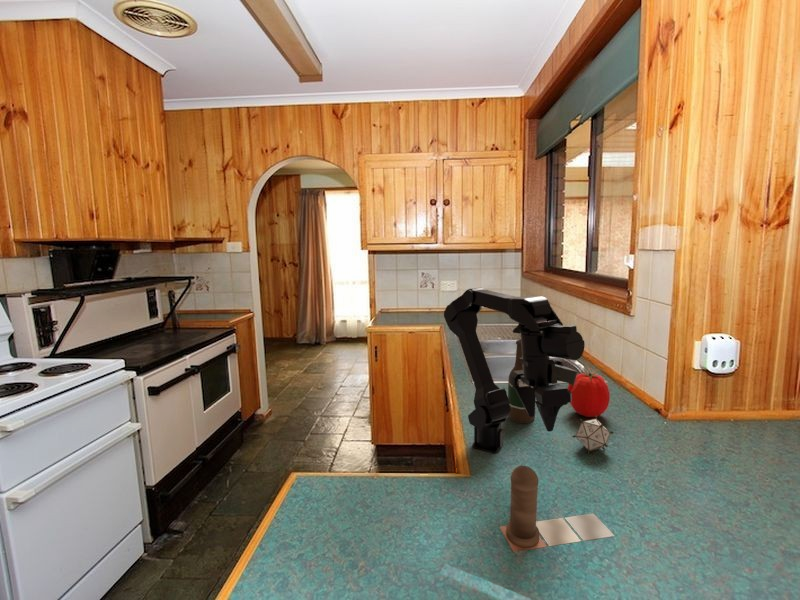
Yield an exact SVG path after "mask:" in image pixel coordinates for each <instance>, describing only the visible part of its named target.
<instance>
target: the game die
mask: <svg viewBox="0 0 800 600" xmlns="http://www.w3.org/2000/svg"><path fill="white" fill-rule="evenodd" d="M579 420H580V422H578V426H579V427H578V429H577V431H576V433H575V435H572V436H571V437H572V438H576V439H577V440H578V441H579V442H580V443H581V444H582V446H584V447H585V449H586V450H587V454H588V455H589V454H590V453H591V451H594V450H598V449H602V450H604V451H606V448H609V444H607V442H608V440H609V438H610V435H611V434H612V435H613V434H614V433H615V432H614V431H610V430H609V429H608V428H606V427H605V426H604V425H603V423H601V422H600V421H599V419H598V416H595V417H594V418H591V419H587V420H584V419H582V418H580V419H579ZM605 447H606V448H605Z"/></svg>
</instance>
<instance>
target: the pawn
mask: <svg viewBox="0 0 800 600" xmlns="http://www.w3.org/2000/svg"><path fill="white" fill-rule="evenodd" d="M538 487H539V476H538V475H537V473H536V471H535V470H534V469H533V468H531V467H530V466H527V465H519V466H516V467H515V468H514V469H513V470H512V471H511V474H510V503H509V504H510V507H509V509H510V513H509V521H508V522H507V523H506V525H505V526H506V535H507V538H508V539H509V541H510V542H512V543H513V544H514V545H516V546H518V547H522V548H532V547H534V546H536V545H537V544H538V542H539V536H540V532H539V529H538V528H537V526H536V522H537V514H538V513H537V511H538Z"/></svg>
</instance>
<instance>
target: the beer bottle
mask: <svg viewBox="0 0 800 600" xmlns="http://www.w3.org/2000/svg"><path fill="white" fill-rule="evenodd" d="M515 344H516V350H515V351H516V352H515V363H514V367H513V368H512V369H511V371H510V372H509V375H508V380H507V382H508V383H507V387H508V388H507V397H508V399H509V401H510V402H511V404H510V408H511V411H510V413H509V416H508V417H509V419H510V420H511V421H512V422H515V423H518V424H530V423H532V422H533V421H534V420H535V418H536V411H535V412H534V416H533V417H529V415H528V413H527V411H526V410H525V408H524V406H523V404H522V402H521V400H520V398H519V396H518V395H517V393H516V391H515V389H514V388H513V386H512V385H513V384H511V383H510V374H511V373H512V372H513V371H518V370H523V364H522V363H520V362H519V358H522V347H521V338H520V339H516V342H515Z"/></svg>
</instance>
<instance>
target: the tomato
mask: <svg viewBox="0 0 800 600" xmlns="http://www.w3.org/2000/svg"><path fill="white" fill-rule="evenodd" d="M581 372H582V373H577V376H576V380H575V383H574V385H570V384H569V383H568V385H567V387H566V388H567V389H568V390H569V391H571V394H572V402H569V403H570V405H571V407H572V408H573V410H574V411H575V412H576V413H577V414H578V415H581V416H584V417H585V418H595V416H597V417H599V416H601V415H602V414H604V413H605V412H606V410H607V409H608V407H609V404H610V398H611V397H610V395H611V393H610V391H609V390H610V389H609V386H608V384H607V383H606V381H605V379H604V378H603V377H602V376H600V375H597V373H592V372H589V373H586V372H583V371H581Z"/></svg>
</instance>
